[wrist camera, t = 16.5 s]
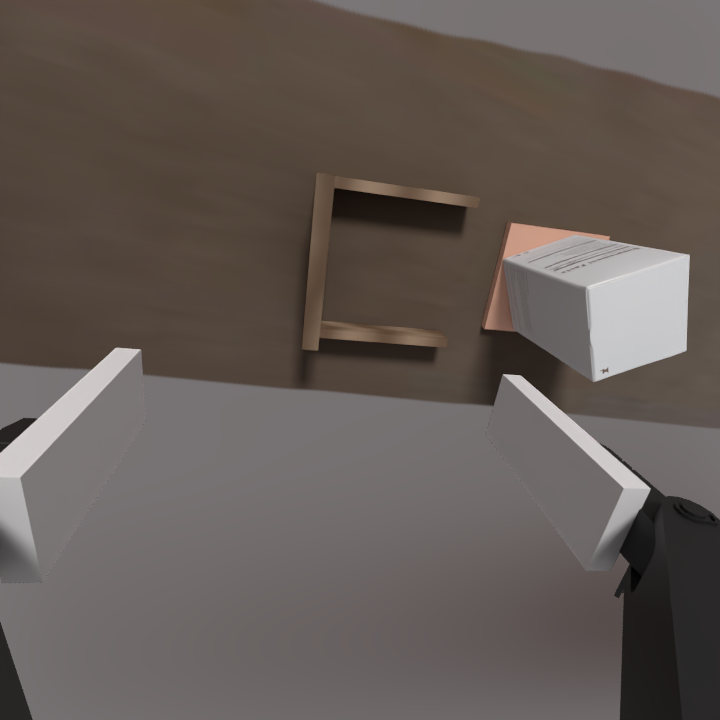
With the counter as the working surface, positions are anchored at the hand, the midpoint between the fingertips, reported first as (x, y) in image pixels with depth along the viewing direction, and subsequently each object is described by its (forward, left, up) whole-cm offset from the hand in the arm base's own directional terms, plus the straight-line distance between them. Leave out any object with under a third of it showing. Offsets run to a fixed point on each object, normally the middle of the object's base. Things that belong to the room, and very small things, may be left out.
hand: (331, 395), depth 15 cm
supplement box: (+27, 0, -31) cm, 41 cm away
